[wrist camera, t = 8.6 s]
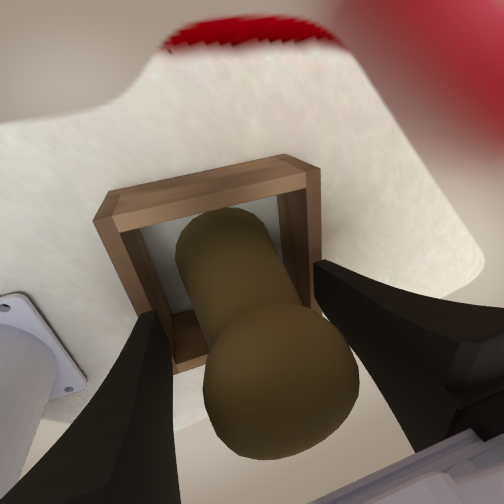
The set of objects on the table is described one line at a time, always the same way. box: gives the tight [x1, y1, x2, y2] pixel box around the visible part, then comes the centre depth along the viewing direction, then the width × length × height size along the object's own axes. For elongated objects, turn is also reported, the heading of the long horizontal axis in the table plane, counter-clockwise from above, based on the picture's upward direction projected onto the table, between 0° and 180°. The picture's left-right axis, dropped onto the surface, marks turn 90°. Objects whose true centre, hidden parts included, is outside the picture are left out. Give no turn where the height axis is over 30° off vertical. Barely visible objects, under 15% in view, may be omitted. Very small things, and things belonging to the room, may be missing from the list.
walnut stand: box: [93, 154, 322, 375], centre depth 15 cm, size 9×9×4 cm
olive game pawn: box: [175, 207, 360, 460], centre depth 13 cm, size 6×6×11 cm
